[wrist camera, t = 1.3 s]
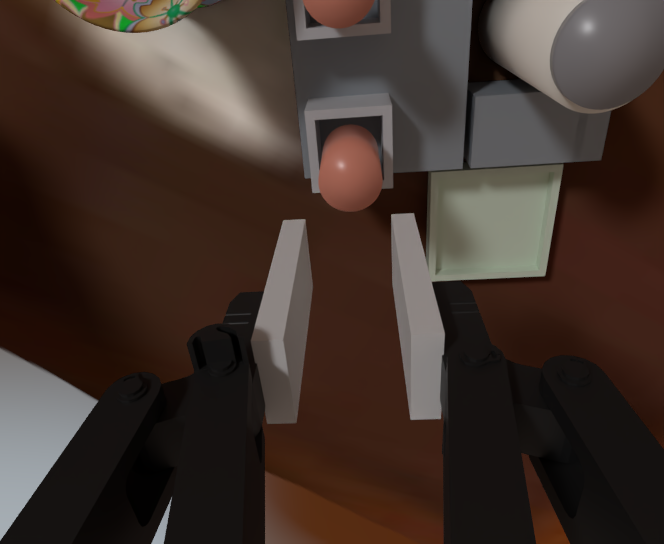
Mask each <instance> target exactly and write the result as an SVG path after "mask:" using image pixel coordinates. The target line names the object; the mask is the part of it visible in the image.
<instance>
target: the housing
mask: <svg viewBox="0 0 664 544" xmlns="http://www.w3.org/2000/svg"><path fill="white" fill-rule="evenodd" d="M286 8H287V18H288V27H289V36H290V45H291V54H292V64H293V73H294V82H295V91H296V100H297V110H298V119H299V128H300V137H301V147H302V156H303V165H304V174H305V178H311V182H312V192H313V193H320V189H319V185H318V178H319V171H320V165H321V158H322V152H323V146H324V143H325V140H326V138H327V137H328V135H329V134H330V133H331V132H332V131H333V130H335V129H336V128H338V127H340V126H343V125H348V124H353V125H358V126H361V127H364V128H365V129H367V130H368V131H369V132H370V133H371V134H372V135H373V136H374V138H375V140H376V142H377V146H378V152H379V158H380V165H381V171H382V179H383V183H382V189H388V188H393V173H402V172H418V171H435V170H451V169H463V156H464V158H465V160H466V161H467V163H468V165H469V166H470V168H484V167H500V166H516V165H532V164H549V163H565V162H581V161H598V160H601V158H602V153H603V149H604V144H605V139H606V134H607V129H608V124H609V119H610V114H611V111H607V112H603V113H593V114H587V113H580V112H576V111H573V110H570V109H568V108H566V107H564V106H563V105H561V104H560V103H558V102H557V101H555V100H553V99H552V98H550V97H549V96H547V95H546V94H544V93H542V92H541V91H539V90H538V89H536V88H535V87H533V86H532V85H530V84H528V83H527V82H525V81H524V80H522V79H513V80H499V81H485V82H472V83H468V68H469V51H470V34H471V17H472V0H375V1H374V3H373V5H372V7H371V9H370V11H369V12H368V14H367V15H366V16H365V17H364V18H363V19H362V20H361V21H359V22H358V23H356V24H355V25H352V26H350V27H347V28H330V27H327V26H324V25H322V24H321V23H319V22H317V21H316V20H315V19H314V18H313V17H312V16H311V15H310V14H309V12H308V11H307V9H306V7H305V6H304V3H303V1H302V0H286Z"/></svg>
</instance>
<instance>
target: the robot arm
mask: <svg viewBox="0 0 664 544" xmlns="http://www.w3.org/2000/svg"><path fill="white" fill-rule="evenodd" d="M391 234H392V284H393V291H394V299H395V306H396V314H397V321H398V329H399V336H400V344H401V351H402V359H403V366H404V374H405V381H406V389H407V396H408V404H409V411H410V419H411V420H415V419H441V407H442V412H443V417H444V425H443V444H442V454H443V498H444V544H536V540H535V534H534V528H533V522H532V516H531V510H530V504H529V498H528V492H527V486H526V480H525V474H524V468H523V462H522V456H521V453H524V454H528V455H529V458H530V460H531V462H532V465H533V467H534V469H535V471H536V473H537V475H538V477H539V479H540V481H541V483H542V485H543V488H544V490H545V492H546V494H547V496H548V498H549V500H550V502H551V504H552V506H553V508H554V510H555V513H556V515H557V517H558V519H559V521H560V523H561V525H562V527H563V529H564V531H565V533H566V536H567V538H568V540H569V542H570V544H664V449H663V448H662V447H661V445H660V444H659V443H658V441H657V440H656V439H655V437H654V436H653V435H652V434H651V432H650V431H649V430H648V428H647V427H646V426H645V424H644V423H643V422H642V421H641V419H640V418H639V417H638V415H637V414H636V413H635V412H634V410H633V409H632V408H631V406H630V405H629V404H628V402H627V401H626V400H625V399H624V397H623V396H622V395H621V393H620V392H619V391H618V389H617V388H616V387H615V386H614V384H613V383H612V382H611V380H610V379H609V378H608V376H607V375H606V374H605V373H604V372H603V371H602V370H601V369H600V368H599V367H598V366H597V365H596V364H594V363H592V362H590V361H588V360H586V359H583V358H579V357H576V356H565V355H560V356H556V357H552V358H550V359H549V360H547V361H546V362H545V363H544V365H543V368H542V369H540V368H535V367H530V366H524V365H520V364H517V363H514V362H511V361H509V360H507V359H505V357H504V355H503V353H502V351H501V350H499V349H498V348H497V347H496V346H494V345H492V344H491V341H490V339H489V336H488V333H487V331H486V328H485V325H484V323H483V320H482V317H481V315H480V313H479V310H478V307H477V304H476V303H475V299H474V296H473V294H472V291H471V290H470V289H469V288H468V287H467V286H466V285H464V284H463V283H462V282H461V281H454V282H433V283H432V282H431V278H430V274H429V270H428V266H427V263H426V259H425V255H424V251H423V247H422V243H421V239H420V236H419V232H418V228H417V224H416V220H415V216H414V213H407V214H391ZM312 289H313V284H312V275H311V266H310V257H309V248H308V240H307V231H306V222H305V219H300V220H283V223H282V227H281V231H280V235H279V238H278V242H277V246H276V249H275V253H274V257H273V261H272V264H271V268H270V272H269V275H268V279H267V283H266V287H265V290H264V292H244V293H239V294H238V295H237V296H236V297H235V298H234V299H233V300H232V301H231V302H230V304H229V307H228V310H227V312H226V316H225V318H224V321H223V324H214V325H210V326H206V327H204V328H202V329H200V330H198V331H197V332H195V333H194V334H193V335H192V336H191V337H190V339H189V341H188V342H187V347H188V350H189V354H190V357H191V361H192V364H193V368H194V374H192V375H190V376H188V377H185V378H182V379H179V380H175V381H171V382H167V383H164V384H161V382H160V379H159V378H158V377H157V376H156V375H154V374H152V373H147V372H140V373H133V374H130V375H127V376H124V377H122V378H121V379H119V380H117V381H116V382H114V383H113V384H112V385H111V386H110V387H109V388H108V389H107V390H106V391H105V393H104V394H103V395H102V397H101V398H100V400H99V401H98V403H97V404H96V406H95V407H94V408H93V410H92V411H91V413H90V414H89V415H88V417H87V418H86V420H85V421H84V422H83V424H82V425H81V427H80V428H79V430H78V431H77V432H76V434H75V435H74V437H73V438H72V440H71V441H70V442H69V444H68V445H67V447H66V448H65V450H64V451H63V452H62V454H61V455H60V457H59V458H58V460H57V461H56V462H55V464H54V465H53V467H52V468H51V469H50V471H49V472H48V474H47V475H46V477H45V478H44V480H43V481H42V482H41V484H40V485H39V487H38V488H37V490H36V491H35V492H34V494H33V495H32V497H31V498H30V499H29V501H28V502H27V504H26V505H25V507H24V508H23V509H22V511H21V512H20V514H19V515H18V517H17V518H16V519H15V521H14V522H13V524H12V525H11V527H10V528H9V529H8V531H7V532H6V534H5V535H4V536H3V538H2V539H1V541H0V544H151V543H152V540H153V538H154V536H155V534H156V532H157V529H158V527H159V525H160V522H161V520H162V518H163V516H164V513H165V511H166V508H167V506H168V504H169V502H170V500H171V497H172V501H171V506H170V512H169V518H168V524H167V529H166V535H165V541H164V544H265V437H264V433H263V428H262V422H263V417H264V411H265V414H266V419H267V424H277V423H296V422H297V413H298V405H299V397H300V388H301V380H302V372H303V363H304V355H305V347H306V339H307V330H308V322H309V314H310V305H311V297H312Z"/></svg>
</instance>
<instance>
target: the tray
mask: <svg viewBox="0 0 664 544" xmlns="http://www.w3.org/2000/svg"><path fill="white" fill-rule="evenodd" d="M563 165H564V164H563V163H549V164H532V165H516V166H500V167H484V168H470V166H469V165H468V163H467V162H463V169H451V170H435V171H428V193H427V237H426V263H427V266H428V270H429V274H430V278H431V281H451V280H472V279H493V278H515V277H536V276H545V274H546V268H547V262H548V256H549V250H550V244H551V238H552V232H553V226H554V220H555V214H556V208H557V201H558V195H559V189H560V183H561V177H562V171H563Z"/></svg>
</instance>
